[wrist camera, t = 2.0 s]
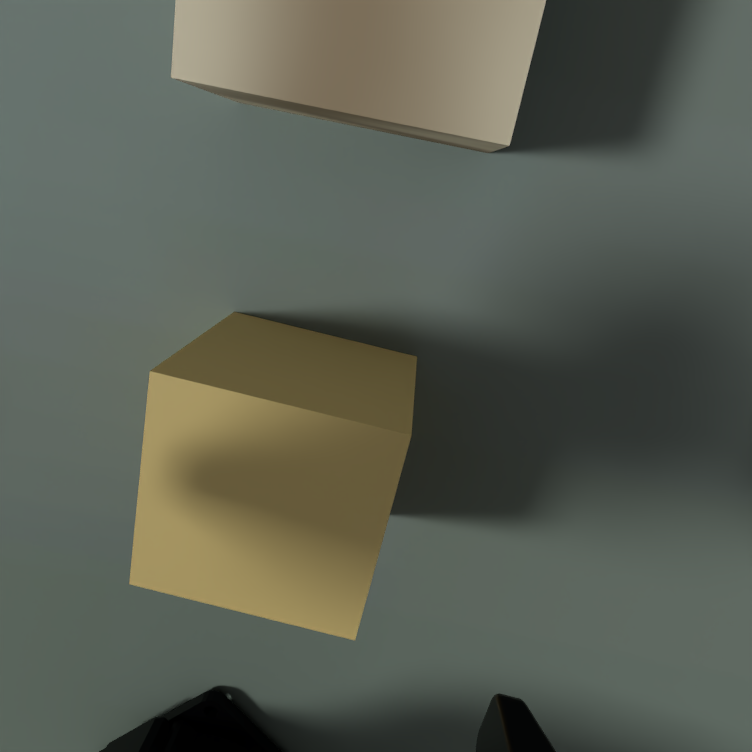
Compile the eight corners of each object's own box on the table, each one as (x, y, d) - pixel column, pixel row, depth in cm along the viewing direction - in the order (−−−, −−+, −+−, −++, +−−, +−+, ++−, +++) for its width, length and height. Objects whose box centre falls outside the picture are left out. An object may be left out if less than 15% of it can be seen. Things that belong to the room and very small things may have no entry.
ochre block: (417, 355, 15) (411, 435, 11) (375, 512, 17) (355, 640, 12) (235, 310, 15) (149, 371, 11) (211, 471, 17) (129, 584, 12)
